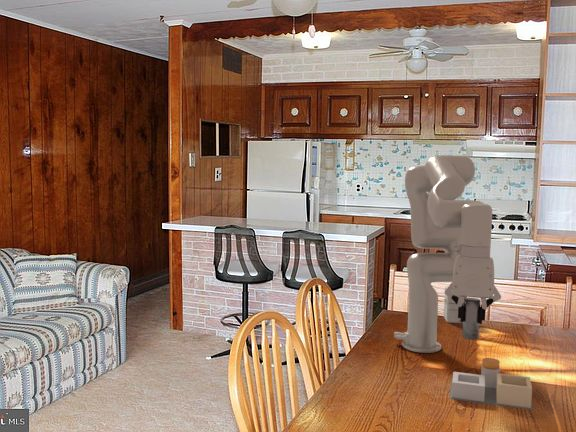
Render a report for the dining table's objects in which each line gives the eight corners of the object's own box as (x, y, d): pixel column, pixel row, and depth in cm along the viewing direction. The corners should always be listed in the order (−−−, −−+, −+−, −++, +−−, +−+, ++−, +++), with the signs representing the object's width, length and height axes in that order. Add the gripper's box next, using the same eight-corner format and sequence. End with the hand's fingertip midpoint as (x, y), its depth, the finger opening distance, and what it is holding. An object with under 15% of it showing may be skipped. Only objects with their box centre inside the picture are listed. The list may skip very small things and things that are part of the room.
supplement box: (443, 317, 234) (444, 285, 232) (462, 318, 233) (463, 286, 232) (446, 322, 226) (447, 290, 225) (466, 323, 226) (467, 290, 224)
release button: (481, 384, 159) (482, 362, 159) (481, 378, 164) (482, 357, 163) (498, 386, 158) (499, 364, 157) (498, 380, 162) (499, 359, 162)
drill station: (448, 404, 151) (450, 379, 151) (451, 381, 166) (452, 359, 166) (533, 415, 145) (534, 390, 145) (528, 391, 160) (529, 368, 160)
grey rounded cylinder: (462, 338, 152) (464, 300, 151) (462, 334, 156) (464, 297, 155) (478, 340, 151) (480, 302, 150) (478, 336, 154) (480, 298, 153)
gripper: (439, 252, 150) (436, 322, 152) (510, 256, 145) (506, 329, 147) (441, 247, 157) (438, 315, 159) (508, 251, 152) (505, 321, 154)
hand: (471, 321), depth 153 cm, fingers closed on grey rounded cylinder, 4 cm apart
